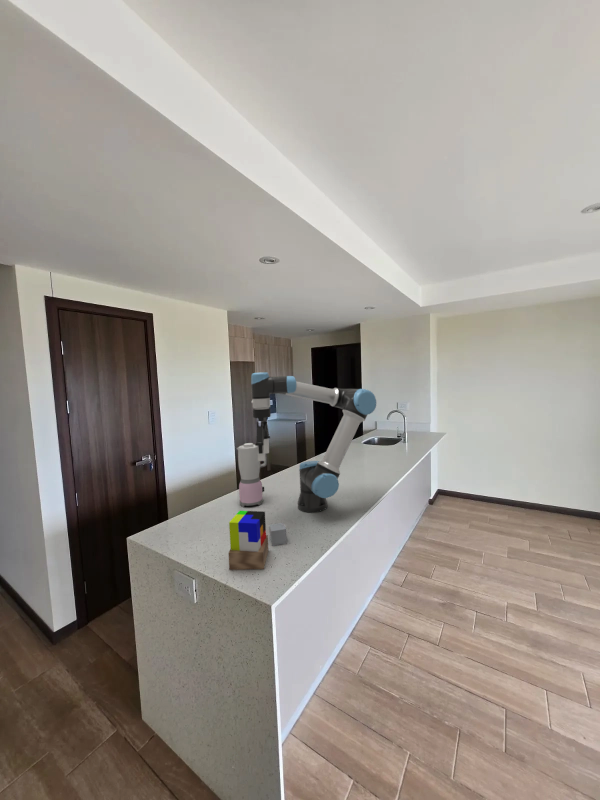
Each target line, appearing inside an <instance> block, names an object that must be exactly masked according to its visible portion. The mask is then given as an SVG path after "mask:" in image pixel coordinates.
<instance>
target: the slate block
mask: <svg viewBox="0 0 600 800" xmlns="http://www.w3.org/2000/svg"><path fill="white" fill-rule="evenodd" d="M268 528H269V529H268V530H269V541H270V544H271V546H272V547H275V546H281V545H287V544H288V543H287V541H288V539H287V528H286V525H285V523H284V522H279V523H273V524H272V523H270V524H268Z"/></svg>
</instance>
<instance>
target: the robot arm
mask: <svg viewBox="0 0 600 800" xmlns="http://www.w3.org/2000/svg"><path fill="white" fill-rule="evenodd" d="M250 378H251V397H252V400H251V404H252V409H253V410H252V417H253V418H254V419H258V420H257V421H256V438H255V442H256V443H255V444H254V445H255V446H257V448H258V461H260V462H264V461H265V453H267V454H270V445H269V443H270V441H269V440H270V439H271V436H270V434H269V432H270V431H269V427H268V418H270V417H271V416H272V414H271V397H270V395H274V394H280V395H283V396H284V395H286V396H290V397H295V398H300V399H304V400H310V401H315V402H320V403H324V404H329V406H331V407H334V408H338V409H341V410H342V413H343V416H342V417H341V420H340V421H339V424H338V426H337V428H336V430H335V432H334V435H333V436H332V439H331V441H330V443H329V445H328V447H327V449H326V452H325V454H324V455H323V458H322V460H310V461H302V462H301V463H300V464H299V468H298V472H299V485H300V487H299V488H300V489H299V490H300V493H299V496H298V499H297V500H298V501H297V509H298V510H299V511H302V512H304V513H318V512H317V511H319V512H321V511H320V510H323V509H325V508H326V507H327V508H328V498H332V497H333V496H334V495H335V494H336V493H337V492H338V490H339V487H340V483H339V477H340V475H341V472H340V467H341V465H342V462H343V460H344V459H345V456H346V453H347V452H348V450H349V447H350V445H351V443H352V441H353V438H354V437H355V435H356V433H357V430H358V428H359V425H360V424H361V423H363V422H365V421H366V418H367V417H368V415H370V414H372V413H374V411H375V410H376V408H377V399H376V396H375V394H374V393H373V392H372V391H371V390H369V389H366V388H339V387H334V388H328V387H325V386H319V385H314V384H310V383H305V382H302V381H297V380H296V378H295V376H293V375H283V376H279V375H278V376H270V375H269V372H267V371H266V372H265V371H264V372H254V373H253V372H252V373H251V377H250ZM327 508H326V509H327ZM326 509H325V510H326ZM323 511H324V510H323Z"/></svg>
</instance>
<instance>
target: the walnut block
mask: <svg viewBox="0 0 600 800" xmlns="http://www.w3.org/2000/svg"><path fill="white" fill-rule="evenodd" d="M268 554H269V536H268V535H267V534H266V539H265V540H264V542H263V544H262V546H261V547H260V549H259V551H258V552H254V551H237V550H231V548H230V549H229V551H228V566H229V568H228V570H229V571H232V570H234V571H235V570H236V571H237V570H265V565H266V562H267V558H268Z"/></svg>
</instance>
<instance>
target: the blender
mask: <svg viewBox="0 0 600 800" xmlns="http://www.w3.org/2000/svg"><path fill="white" fill-rule="evenodd" d="M236 450H237V461H238V470H239V475H240V482H239V484H238V491H239V493H238V494H239V495H238V496H239V504H240V506H241V507H242V508H245V506H246V507H247V506H256V505H257V506H261V505H262V502H263V500H264V497H263V493H264V492H265V486H263V483H262V480H261V478H260V469H261V468H264V467H266V466H267V465H268V455H267V454H268V453H265V461H263V463H261V461H258V448H257V446H255V444H254V443H253V442H248V443H243V444H242V445H239V446H238V447H236Z"/></svg>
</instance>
